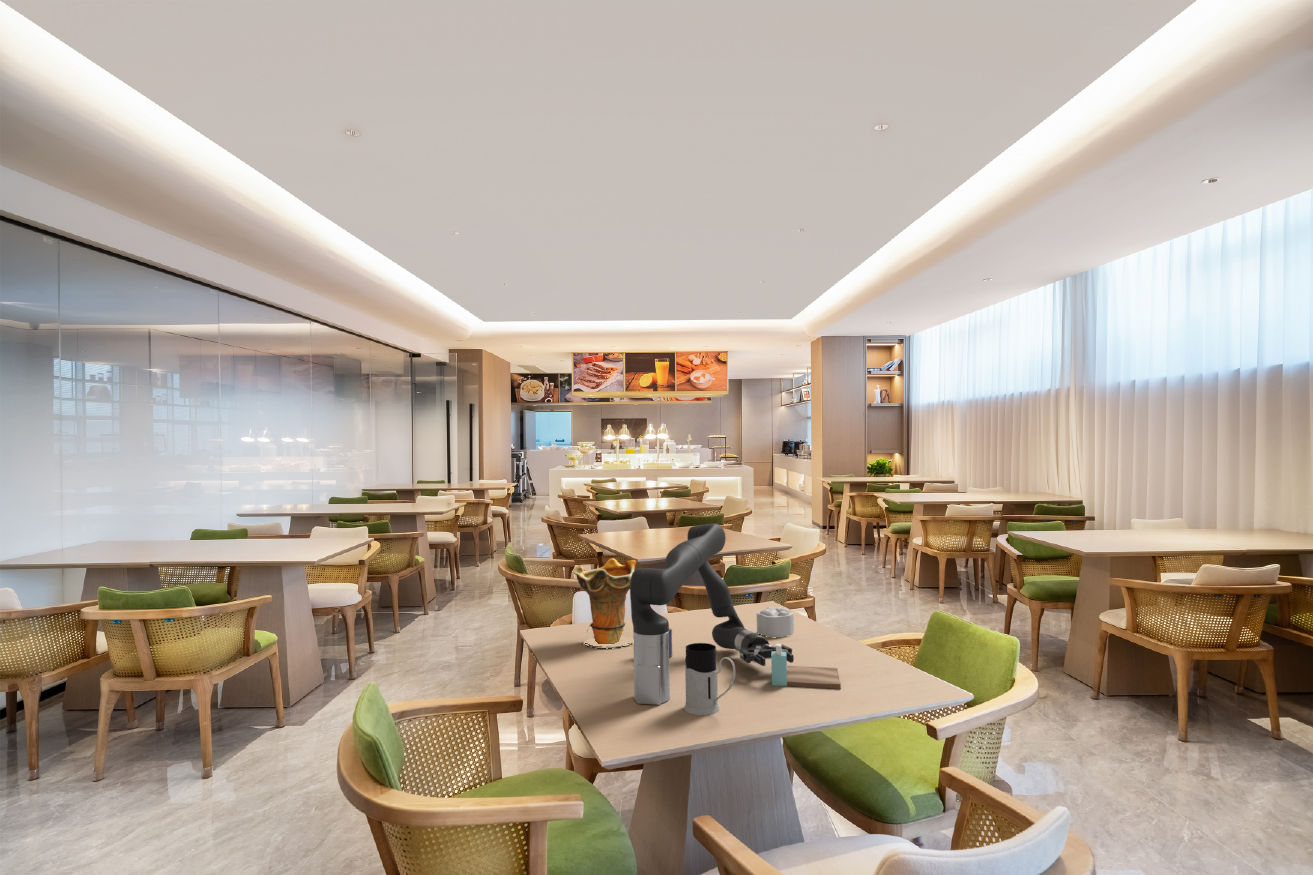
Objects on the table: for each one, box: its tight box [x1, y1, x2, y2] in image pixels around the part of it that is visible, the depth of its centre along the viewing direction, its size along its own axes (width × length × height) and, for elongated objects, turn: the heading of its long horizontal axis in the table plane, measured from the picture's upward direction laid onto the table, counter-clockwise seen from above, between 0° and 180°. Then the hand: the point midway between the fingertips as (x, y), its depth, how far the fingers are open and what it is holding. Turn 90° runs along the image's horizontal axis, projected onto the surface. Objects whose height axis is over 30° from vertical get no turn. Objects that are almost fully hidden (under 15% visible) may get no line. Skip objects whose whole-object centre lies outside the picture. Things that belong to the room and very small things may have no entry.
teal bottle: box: [770, 643, 788, 687], centre depth 180 cm, size 4×4×10 cm
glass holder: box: [683, 642, 736, 716], centre depth 160 cm, size 9×14×15 cm, turn 51°
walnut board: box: [786, 665, 842, 690], centre depth 182 cm, size 14×14×1 cm
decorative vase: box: [573, 557, 637, 648], centre depth 224 cm, size 21×23×28 cm
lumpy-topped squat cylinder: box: [756, 606, 795, 638], centre depth 232 cm, size 10×13×9 cm
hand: (778, 660), depth 180 cm, fingers open, 8 cm apart
